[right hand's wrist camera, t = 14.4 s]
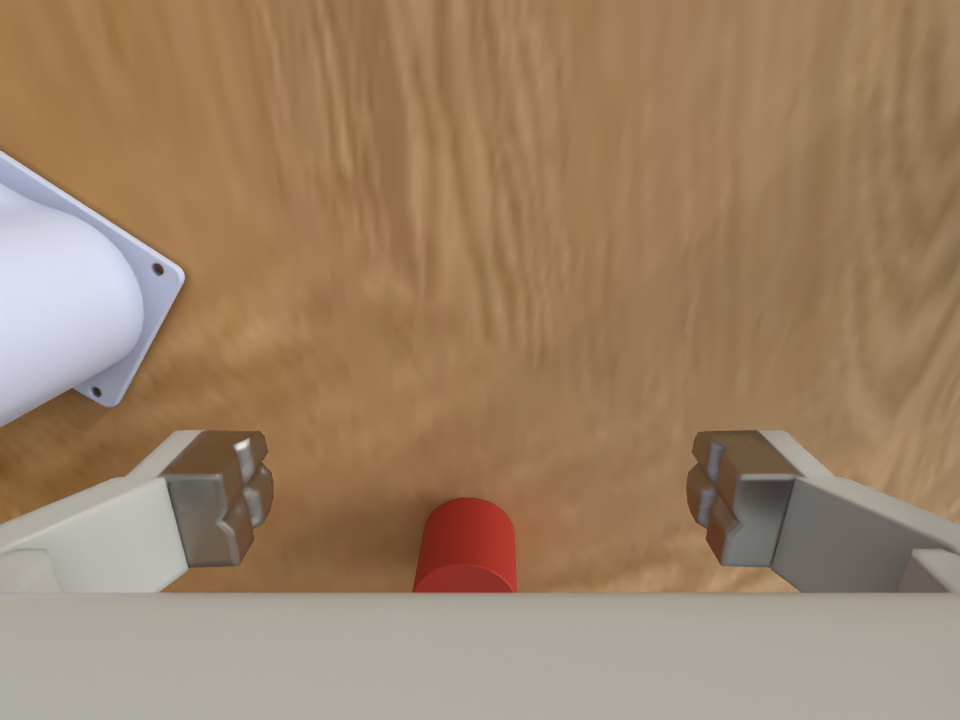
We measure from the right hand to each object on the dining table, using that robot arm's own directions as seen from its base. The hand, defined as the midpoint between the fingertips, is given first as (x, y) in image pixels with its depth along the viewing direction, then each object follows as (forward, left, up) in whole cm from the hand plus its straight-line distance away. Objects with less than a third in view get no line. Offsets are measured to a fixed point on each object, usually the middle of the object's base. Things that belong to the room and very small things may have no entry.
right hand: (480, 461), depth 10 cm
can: (+1, +13, -13) cm, 19 cm away
